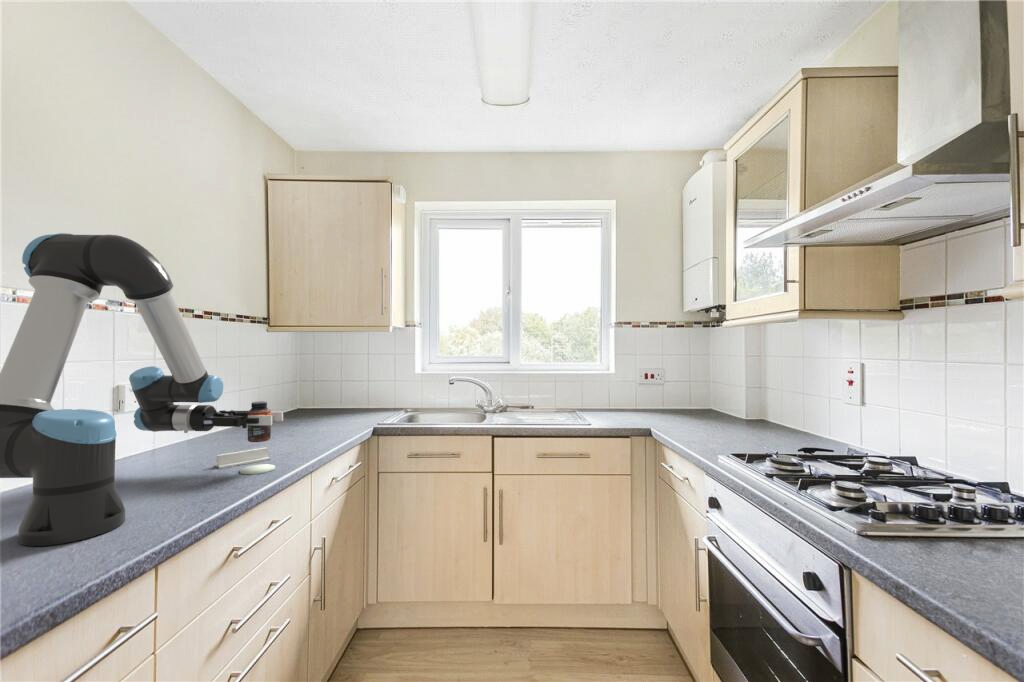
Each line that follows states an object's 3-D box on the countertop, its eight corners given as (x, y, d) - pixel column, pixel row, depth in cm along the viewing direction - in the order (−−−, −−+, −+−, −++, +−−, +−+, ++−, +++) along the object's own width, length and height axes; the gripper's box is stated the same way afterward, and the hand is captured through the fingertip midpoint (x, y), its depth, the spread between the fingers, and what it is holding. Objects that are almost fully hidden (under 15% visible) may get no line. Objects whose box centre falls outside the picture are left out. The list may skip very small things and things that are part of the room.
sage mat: (280, 469, 132) (280, 468, 132) (246, 476, 125) (246, 474, 125) (268, 464, 138) (268, 462, 138) (235, 470, 131) (235, 468, 131)
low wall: (270, 459, 143) (270, 448, 143) (219, 468, 133) (219, 456, 133) (264, 457, 146) (264, 446, 146) (214, 465, 136) (214, 454, 136)
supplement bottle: (268, 437, 136) (268, 400, 136) (272, 441, 131) (273, 402, 132) (245, 440, 132) (246, 401, 132) (249, 443, 128) (249, 404, 128)
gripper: (216, 424, 141) (291, 425, 142) (173, 438, 122) (260, 438, 123) (216, 400, 141) (291, 401, 142) (173, 410, 122) (260, 410, 123)
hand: (277, 418), depth 132 cm, fingers closed on supplement bottle, 6 cm apart
